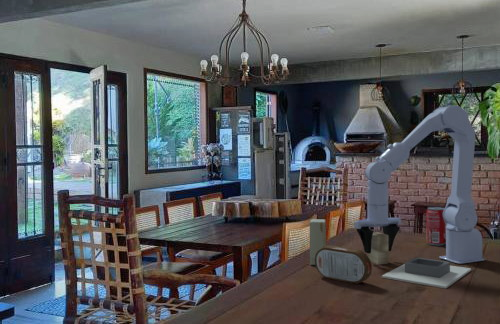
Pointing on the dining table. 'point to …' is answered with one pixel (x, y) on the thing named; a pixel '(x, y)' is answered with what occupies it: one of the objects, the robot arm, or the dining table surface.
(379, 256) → the birch peg
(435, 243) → the soda can
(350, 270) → the tin
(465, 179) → the robot arm
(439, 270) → the peg socket
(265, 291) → the dining table surface
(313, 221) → the skincare box
